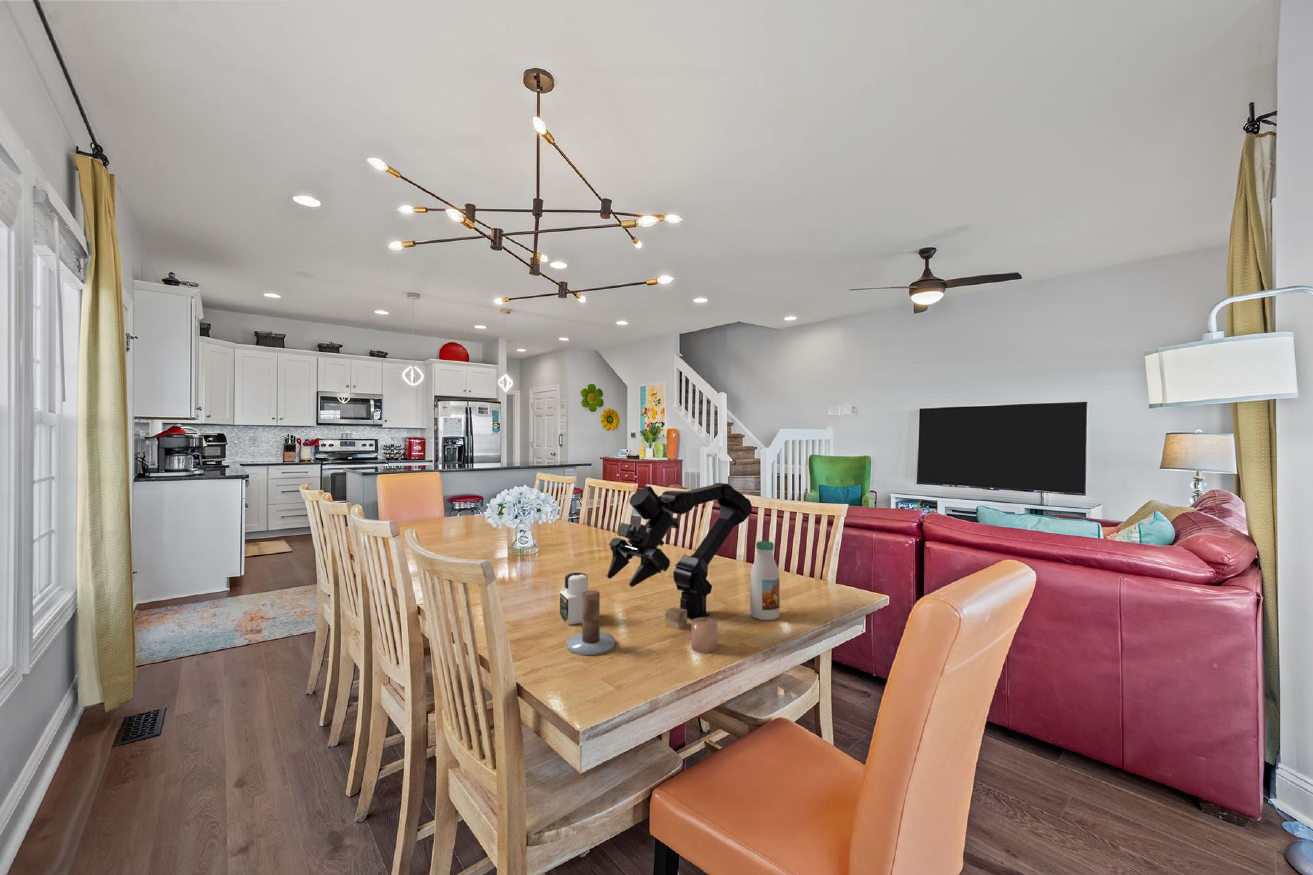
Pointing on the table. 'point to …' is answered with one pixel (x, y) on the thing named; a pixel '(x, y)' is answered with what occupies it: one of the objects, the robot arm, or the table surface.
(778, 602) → the milk bottle
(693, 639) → the short mauve cylinder
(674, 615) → the oak block
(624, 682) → the table surface
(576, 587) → the medicine bottle
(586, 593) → the brown cylinder
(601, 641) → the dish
